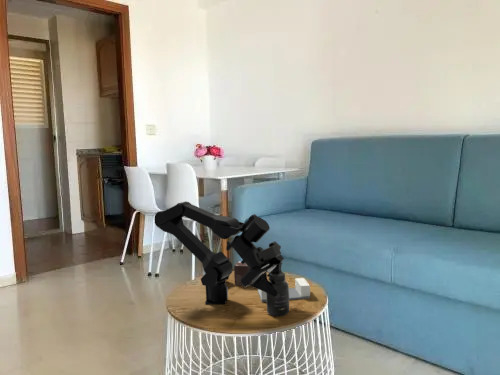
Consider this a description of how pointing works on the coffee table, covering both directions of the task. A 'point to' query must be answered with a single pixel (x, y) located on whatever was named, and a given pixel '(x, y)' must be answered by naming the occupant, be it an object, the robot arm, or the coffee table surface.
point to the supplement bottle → (278, 295)
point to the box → (240, 272)
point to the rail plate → (293, 290)
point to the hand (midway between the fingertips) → (281, 291)
